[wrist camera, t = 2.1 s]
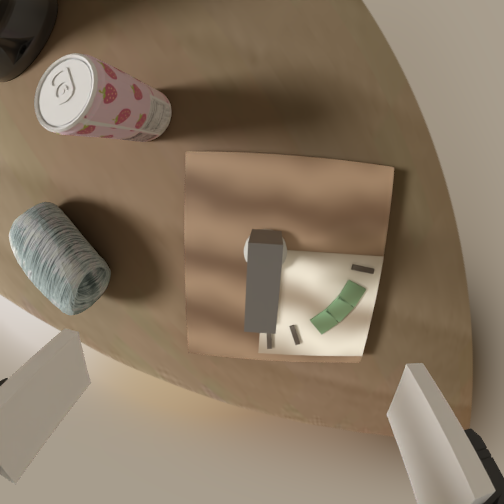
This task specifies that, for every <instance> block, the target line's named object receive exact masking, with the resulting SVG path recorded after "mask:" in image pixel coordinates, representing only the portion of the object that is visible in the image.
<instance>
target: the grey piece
mask: <svg viewBox="0 0 504 504" xmlns="http://www.w3.org/2000/svg"><path fill="white" fill-rule="evenodd" d="M286 256H287V247H286V243H285V240H284V239H283V237H282V231H275V230H271V229H252V231H251V234H250V236H249V237H248V239H247V240H246V243H245V246H244V257H245V260H246V262H247V277H246V298H245V320H244V332H254V333H269V334H276V324H277V314H278V303H279V292H280V281H281V269H282V264H283V263H284V262H285V259H286Z"/></svg>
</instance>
